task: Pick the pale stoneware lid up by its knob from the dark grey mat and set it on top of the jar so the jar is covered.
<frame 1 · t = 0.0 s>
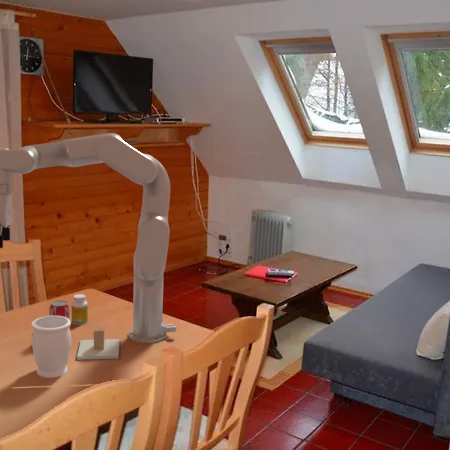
hand: (1, 244, 172), 31 cm above the table, fingers open, 9 cm apart
mat: (99, 351, 172), on the table
beverage can: (60, 338, 181), on the table
jar: (52, 372, 158), on the table
lid: (99, 350, 172), resting on mat
supplement bottle: (79, 323, 194), on the table
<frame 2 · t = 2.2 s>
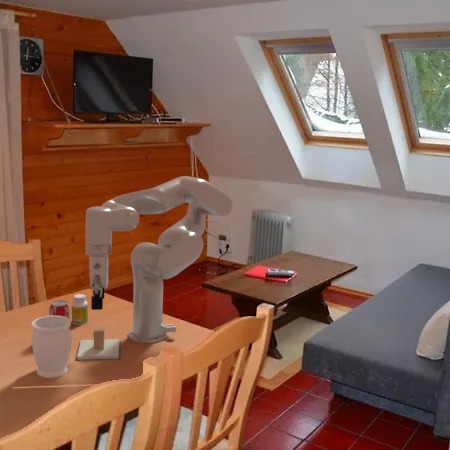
hand: (98, 303, 169), 16 cm above the table, fingers open, 9 cm apart
nothing on the table moved.
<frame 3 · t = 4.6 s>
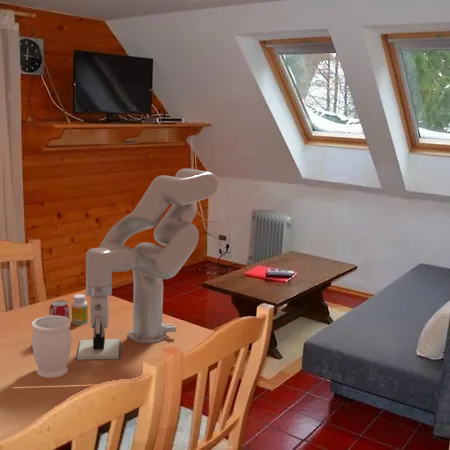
hand: (99, 345, 172), 2 cm above the table, fingers closed on lid, 3 cm apart
lid: (99, 350, 172), resting on mat, touching gripper
everything else where it was.
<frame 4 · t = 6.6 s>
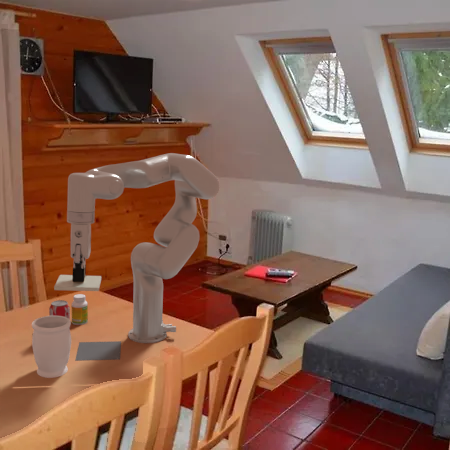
hand: (79, 279, 161), 25 cm above the table, fingers closed on lid, 3 cm apart
lid: (78, 284, 162), point 23 cm above the table, touching gripper
everything else where it was.
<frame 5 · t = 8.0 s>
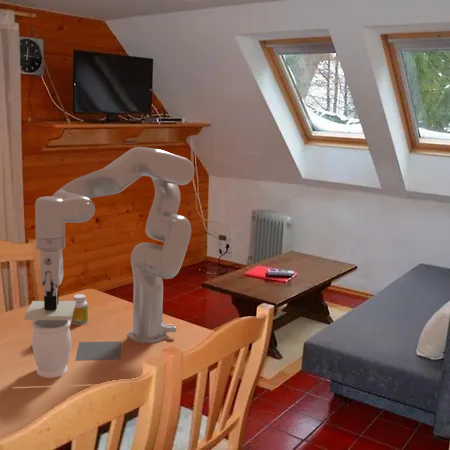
hand: (51, 306, 155), 19 cm above the table, fingers closed on lid, 3 cm apart
lid: (51, 311, 155), point 18 cm above the table, touching gripper
everything else where it was.
when the fingers open (18 cm above the table, at t = 9.1 s): lid drops 2 cm, resting on jar.
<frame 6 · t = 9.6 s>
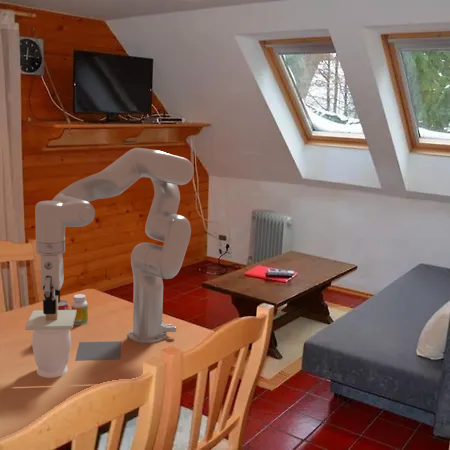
hand: (52, 307, 155), 19 cm above the table, fingers open, 8 cm apart
jar: (52, 372, 158), on the table, touching lid
lid: (52, 321, 156), point 15 cm above the table, touching jar
everything else where it was.
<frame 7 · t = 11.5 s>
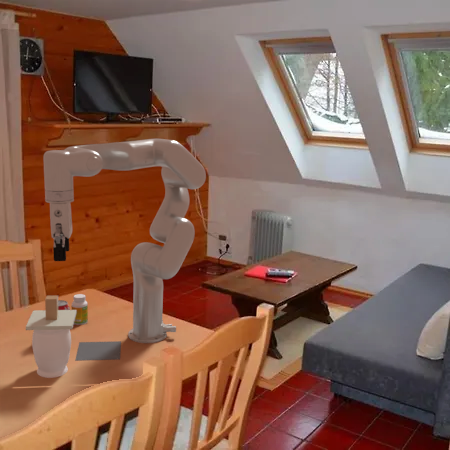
hand: (61, 255, 157), 32 cm above the table, fingers open, 9 cm apart
nothing on the table moved.
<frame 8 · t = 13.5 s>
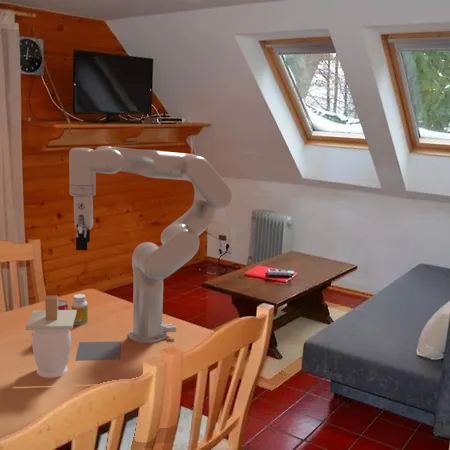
hand: (83, 245, 170), 32 cm above the table, fingers open, 9 cm apart
nothing on the table moved.
at the end: lid inside the target area on the jar (0.6 cm from its centre), point 15.2 cm above the jar's base; lid tilted 0°; the gripper is holding nothing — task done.
